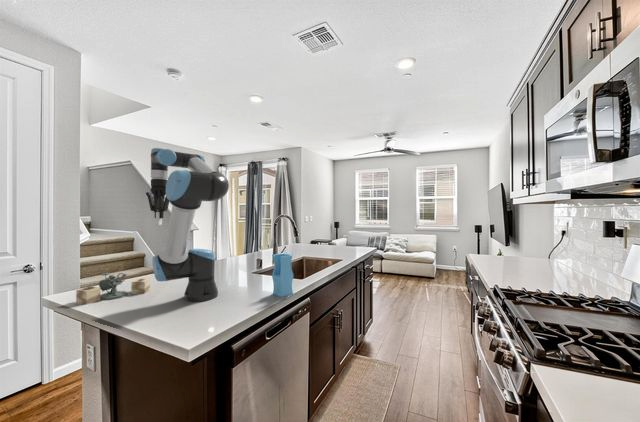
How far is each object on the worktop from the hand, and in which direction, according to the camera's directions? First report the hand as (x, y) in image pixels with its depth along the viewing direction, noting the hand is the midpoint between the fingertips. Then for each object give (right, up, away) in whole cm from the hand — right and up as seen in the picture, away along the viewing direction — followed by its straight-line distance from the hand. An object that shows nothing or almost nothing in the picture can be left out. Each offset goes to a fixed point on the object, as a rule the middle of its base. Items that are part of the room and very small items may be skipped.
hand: (158, 224), depth 141 cm
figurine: (-17, -35, -9) cm, 40 cm away
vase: (+64, -36, -1) cm, 73 cm away
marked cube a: (-9, -34, -1) cm, 35 cm away
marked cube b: (-23, -34, -16) cm, 44 cm away
